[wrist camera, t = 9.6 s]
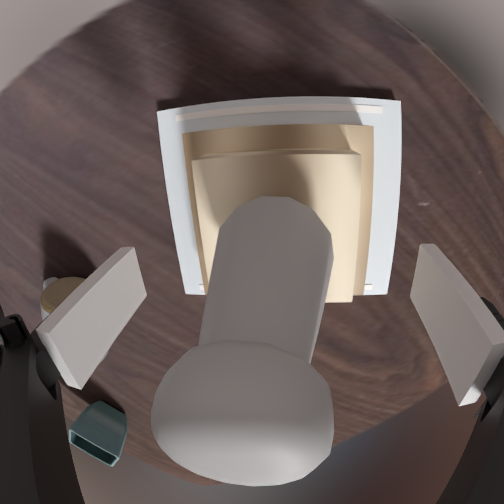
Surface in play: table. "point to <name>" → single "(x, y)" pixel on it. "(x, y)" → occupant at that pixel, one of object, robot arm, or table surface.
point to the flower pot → (100, 432)
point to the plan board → (288, 112)
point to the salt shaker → (255, 354)
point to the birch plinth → (290, 139)
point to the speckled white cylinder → (58, 293)
